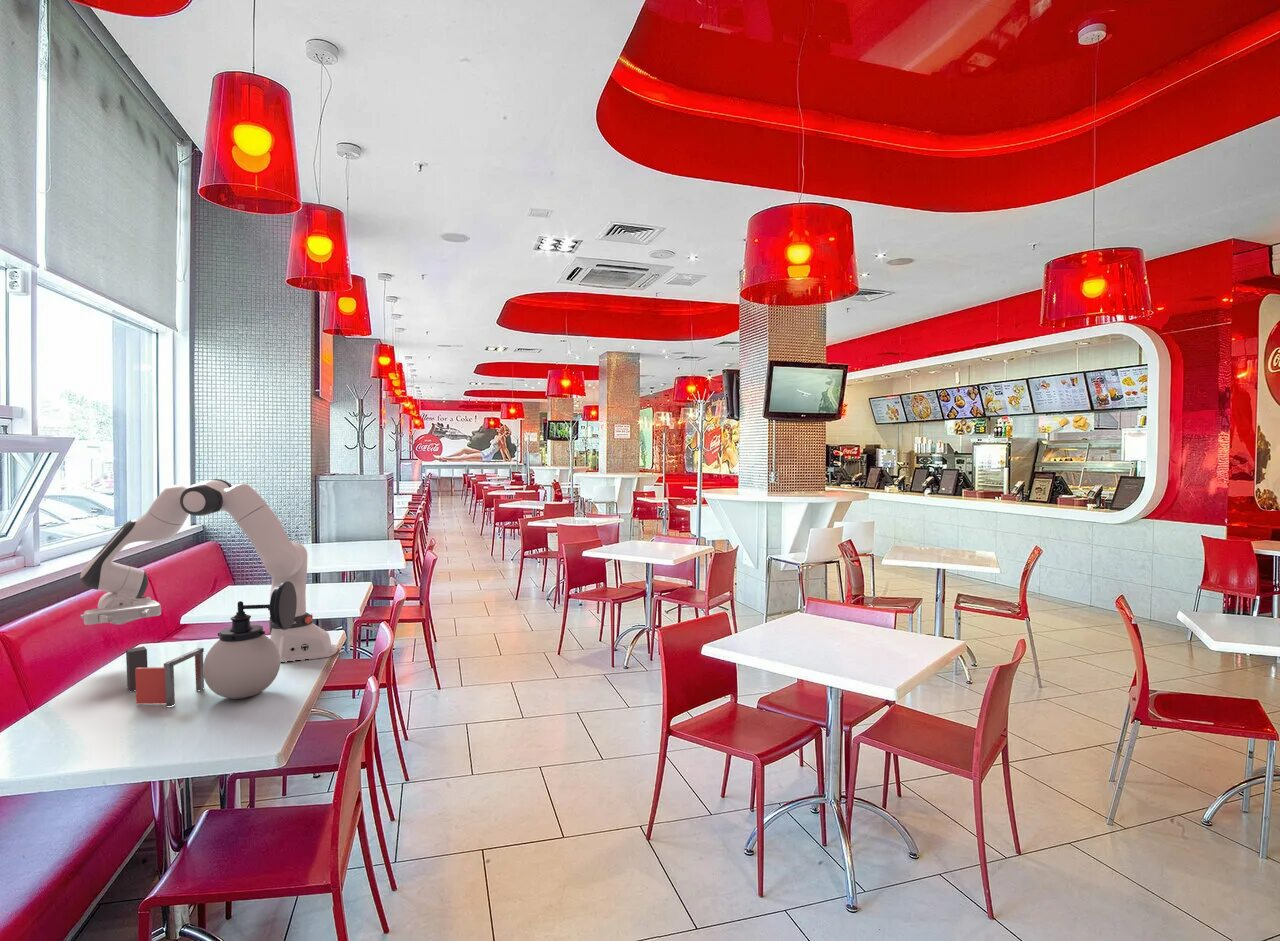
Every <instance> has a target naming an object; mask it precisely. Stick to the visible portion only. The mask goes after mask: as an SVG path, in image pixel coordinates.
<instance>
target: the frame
mask: <svg viewBox="0 0 1280 941" xmlns="http://www.w3.org/2000/svg"><path fill="white" fill-rule="evenodd" d="M204 652H205V648H204V647H197V648H195V649H193V650H191V651H188V652H187V653H184V654H182V655H180V656H178V657H175V658H173V659H170V660H169V661H166V662H165V663H163V667H164V668H165V690H166V703H165V707H166V706H172V705H174V704H175V705H176V703H175V700H176V699H175V698H176V697H175V694H176V693H175V672H174V666H176V665H178V664H181V663H184V662H185V661H187V660H189V659H191V658H193V657H194V668H195V669H194V670H195V691H196V690H202V689H203V688H204V689H205V679H204V675H203V664H204ZM202 691H203V690H202Z"/></svg>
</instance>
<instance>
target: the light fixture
mask: <svg viewBox="0 0 1280 941" xmlns="http://www.w3.org/2000/svg"><path fill="white" fill-rule="evenodd" d="M296 607H297V597H296V591H295V588H294V585H293V584H292V583H291V582H289V581H285V582H283V583H282V584H281V585H280V586H277V587H276V588H275V590H274V591H273V593H272V595H271V599H270V598H269V604H246V605H245V604H244V602H243V601H241V600H240V601H238V602H237V611H236V612H235V615H233V616H231V617H230V620H231V626H230V627H226V628H224V629H221V630H220V631H219V632H218V633H217V637H218V639H219V640H217V641H216V642H215V643H214V644H213V646H212V647H210V649H209V650H208V652H207V654H206V656H205V658H204V659H203V675H204V682H205V684H206V686H208V688H209V689H210V690H211V691H212V692H213V693H214V694H216V695H218V696H220V697H223V698H227V699H233V700H234V699H235V700H237V699H238V700H239V699H245V698H249V697H253V696H255V695H257V694H259V693H260V694H261V693H262V692H263V691H265V690H266V689H267V688H269V687H270V686H271V685H272V684H273V682H274V681H275V680H276V677H277V676H278V674H279V671H280V668H281V662H280V654H279V651H278V649H277V647H276V645H275V644H274V643H273V641H272V640H270V638H269V637H268V636H266V635H265V634H266V631H265V630H264V627H263V626H262V625H261V624H251V621H250V620H251V618H252V615H250V614H247V613H246V610H256V609H257V610H258V609H259V610H261V609H267V610H268V611H269V618H270V617H271V620H272V622H273V623H274V625H276V626H278V627H279V628H280V629H282V630H287V629H289V628H290V627H291V625H292V624H293V621H294V618H295V614H296Z"/></svg>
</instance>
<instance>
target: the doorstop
mask: <svg viewBox="0 0 1280 941" xmlns="http://www.w3.org/2000/svg"><path fill="white" fill-rule="evenodd" d="M125 655H126V657H125V659H126V684H127V685H126V686H127V687H128V688H127V687H126V688H127V690H128V689H129V690H130V691H134V690H136V679H135V668H138V667H148V649H147V648H146V647H145V646H137V647H133V648H127V649H125ZM129 690H128V691H129ZM130 691H129V692H130ZM134 692H135V691H134Z"/></svg>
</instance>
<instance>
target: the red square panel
mask: <svg viewBox="0 0 1280 941" xmlns="http://www.w3.org/2000/svg"><path fill="white" fill-rule="evenodd" d="M135 679H136V691H135V700H136V704H137V705H138V704H140V705H141V704H143V705H145V704H146V705H147V704H152V705H155V704H159V705H160V704H163V705H164V704H166V690H165V668H164V666H162V667H161V666H160V667H158V666H157V667H156V666H155V667H154V666H153V667H152V666H151V667H148V666H147V667H138V668H135Z"/></svg>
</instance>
